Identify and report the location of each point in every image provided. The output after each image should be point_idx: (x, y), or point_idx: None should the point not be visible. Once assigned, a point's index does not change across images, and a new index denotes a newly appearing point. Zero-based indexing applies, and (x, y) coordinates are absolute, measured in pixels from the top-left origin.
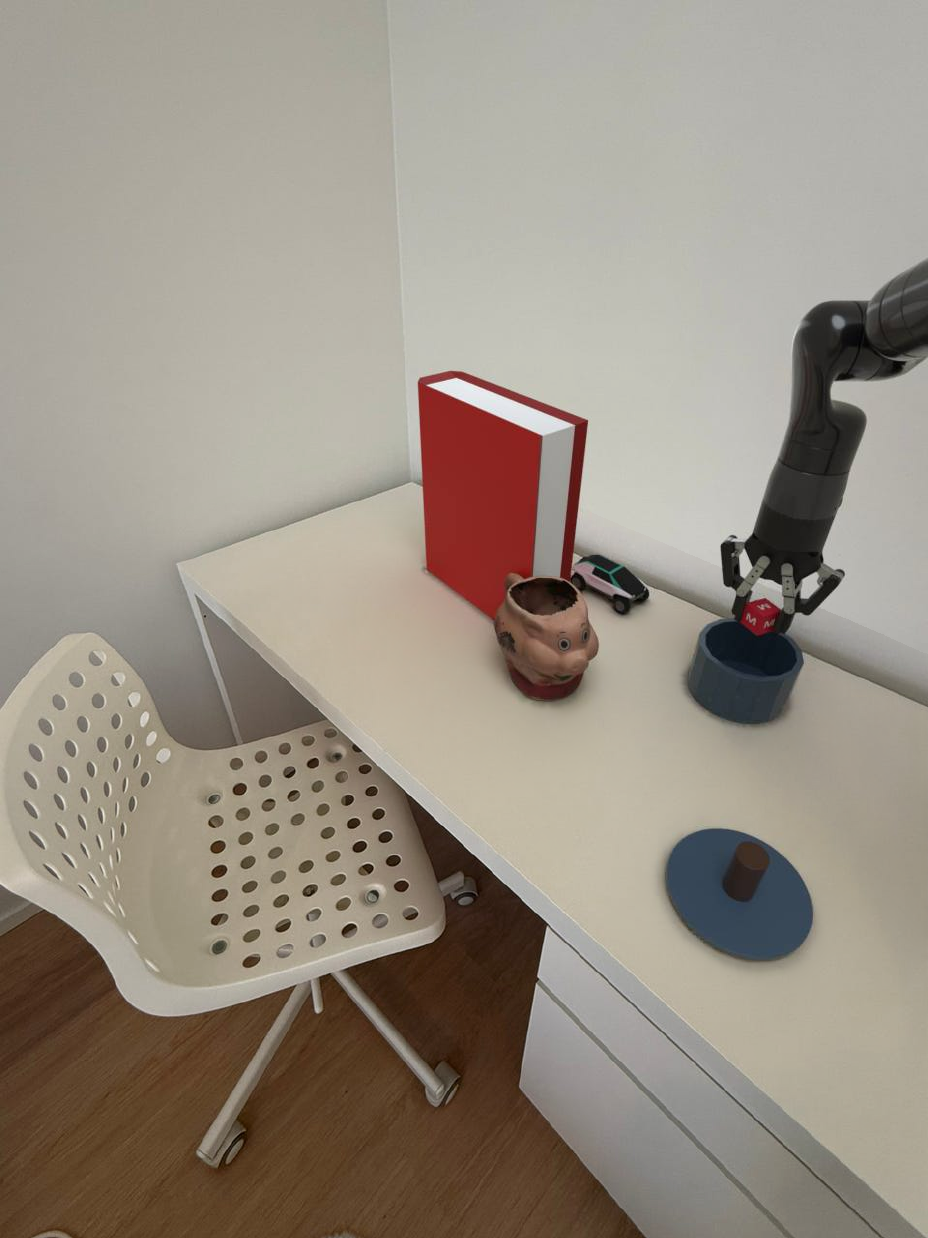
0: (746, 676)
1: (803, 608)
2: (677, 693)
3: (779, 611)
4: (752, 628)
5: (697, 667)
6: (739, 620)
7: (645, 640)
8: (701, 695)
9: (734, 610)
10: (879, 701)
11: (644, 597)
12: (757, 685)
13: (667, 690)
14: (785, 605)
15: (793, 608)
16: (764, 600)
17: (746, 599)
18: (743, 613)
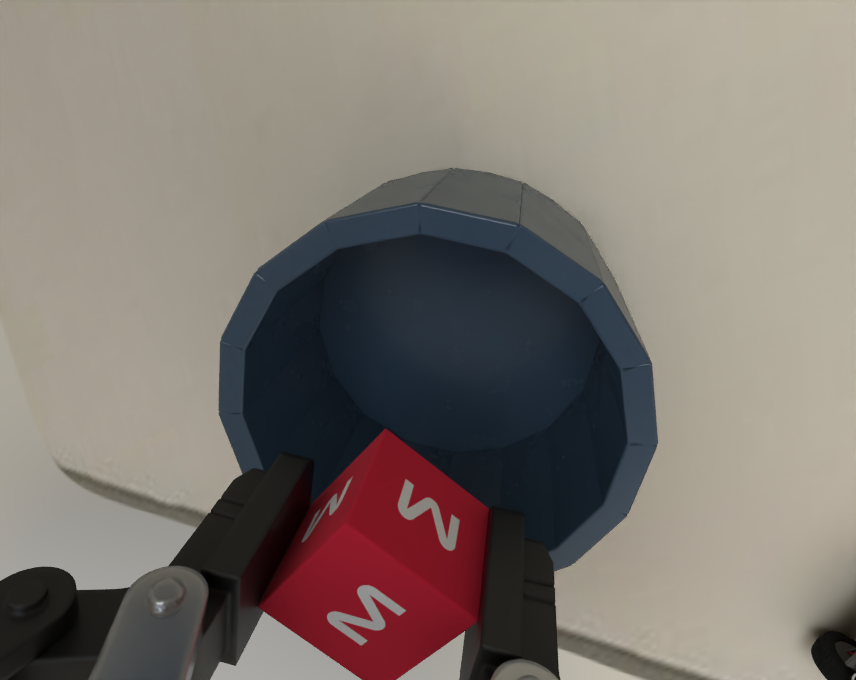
0: (400, 217)
1: (43, 617)
2: (645, 225)
3: (271, 596)
4: (414, 465)
5: (615, 290)
6: (493, 507)
7: (794, 455)
8: (563, 214)
9: (536, 565)
10: (115, 435)
11: (830, 648)
12: (351, 209)
13: (685, 224)
14: (184, 626)
15: (125, 608)
16: (377, 668)
17: (479, 642)
18: (480, 552)
